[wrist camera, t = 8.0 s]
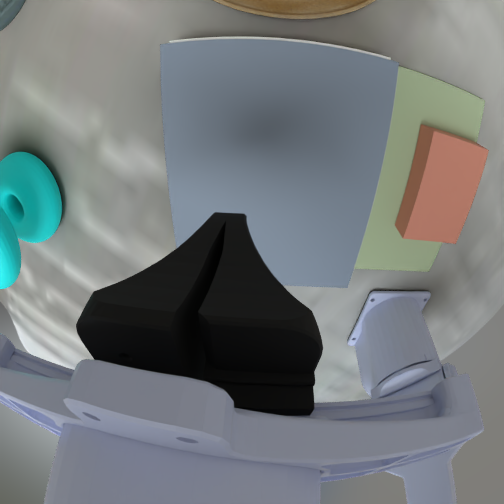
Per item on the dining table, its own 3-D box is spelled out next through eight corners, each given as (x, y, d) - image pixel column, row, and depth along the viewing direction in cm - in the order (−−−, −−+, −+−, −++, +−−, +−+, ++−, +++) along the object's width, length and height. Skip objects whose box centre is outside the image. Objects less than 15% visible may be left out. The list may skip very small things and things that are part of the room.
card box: (402, 238, 20) (394, 224, 22) (455, 243, 20) (445, 230, 22) (433, 131, 15) (420, 123, 16) (488, 150, 15) (474, 141, 16)
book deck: (343, 265, 25) (349, 287, 23) (189, 256, 26) (181, 278, 23) (383, 59, 14) (402, 60, 12) (175, 44, 15) (160, 41, 12)
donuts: (-60, 234, 13) (-50, 174, 10) (-5, 183, 21) (27, 127, 18) (-4, 306, 18) (21, 274, 15) (42, 245, 26) (83, 203, 23)
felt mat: (427, 269, 25) (428, 271, 25) (346, 265, 25) (347, 268, 25) (482, 99, 14) (485, 100, 14) (388, 63, 14) (391, 63, 14)
